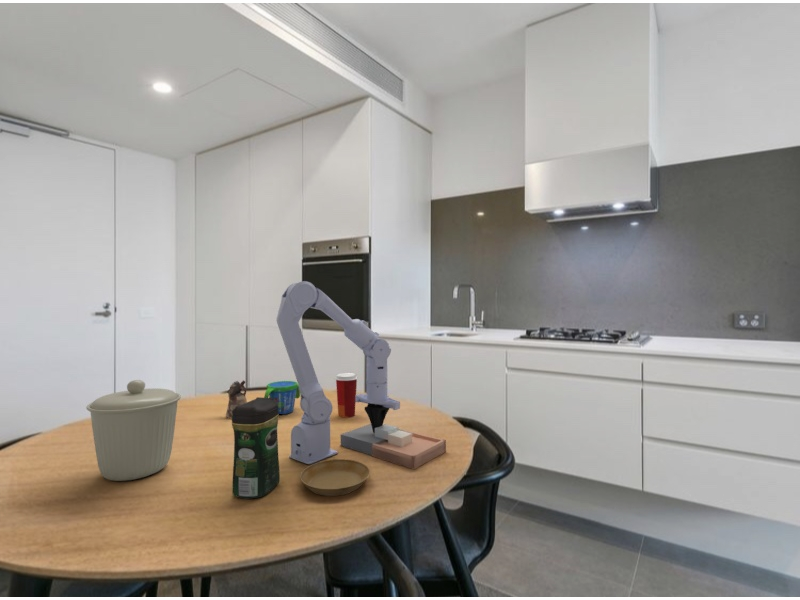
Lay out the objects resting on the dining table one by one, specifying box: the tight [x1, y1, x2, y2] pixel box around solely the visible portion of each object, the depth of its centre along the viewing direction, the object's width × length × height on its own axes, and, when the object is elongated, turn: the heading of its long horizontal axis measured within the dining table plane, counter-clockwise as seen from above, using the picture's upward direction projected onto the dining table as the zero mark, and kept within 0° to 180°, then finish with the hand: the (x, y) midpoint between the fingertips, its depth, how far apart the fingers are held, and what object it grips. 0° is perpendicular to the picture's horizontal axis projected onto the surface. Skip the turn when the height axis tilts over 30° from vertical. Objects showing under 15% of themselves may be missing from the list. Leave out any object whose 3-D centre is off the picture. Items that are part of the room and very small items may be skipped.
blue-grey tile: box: [375, 423, 400, 440], centre depth 107 cm, size 4×4×2 cm
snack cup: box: [263, 380, 301, 415], centre depth 142 cm, size 16×10×10 cm
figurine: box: [225, 380, 248, 419], centre depth 138 cm, size 7×7×12 cm
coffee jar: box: [231, 396, 281, 500], centre depth 83 cm, size 10×8×19 cm
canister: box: [85, 379, 182, 482], centre depth 92 cm, size 18×18×21 cm
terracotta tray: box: [371, 429, 447, 470], centre depth 102 cm, size 14×13×3 cm
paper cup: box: [334, 372, 359, 419], centre depth 138 cm, size 8×8×14 cm
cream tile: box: [388, 429, 412, 447], centre depth 104 cm, size 4×4×2 cm
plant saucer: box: [299, 458, 371, 497], centre depth 86 cm, size 15×15×3 cm
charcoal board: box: [340, 423, 405, 456], centre depth 110 cm, size 13×12×3 cm
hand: (377, 432), depth 109 cm, fingers closed
